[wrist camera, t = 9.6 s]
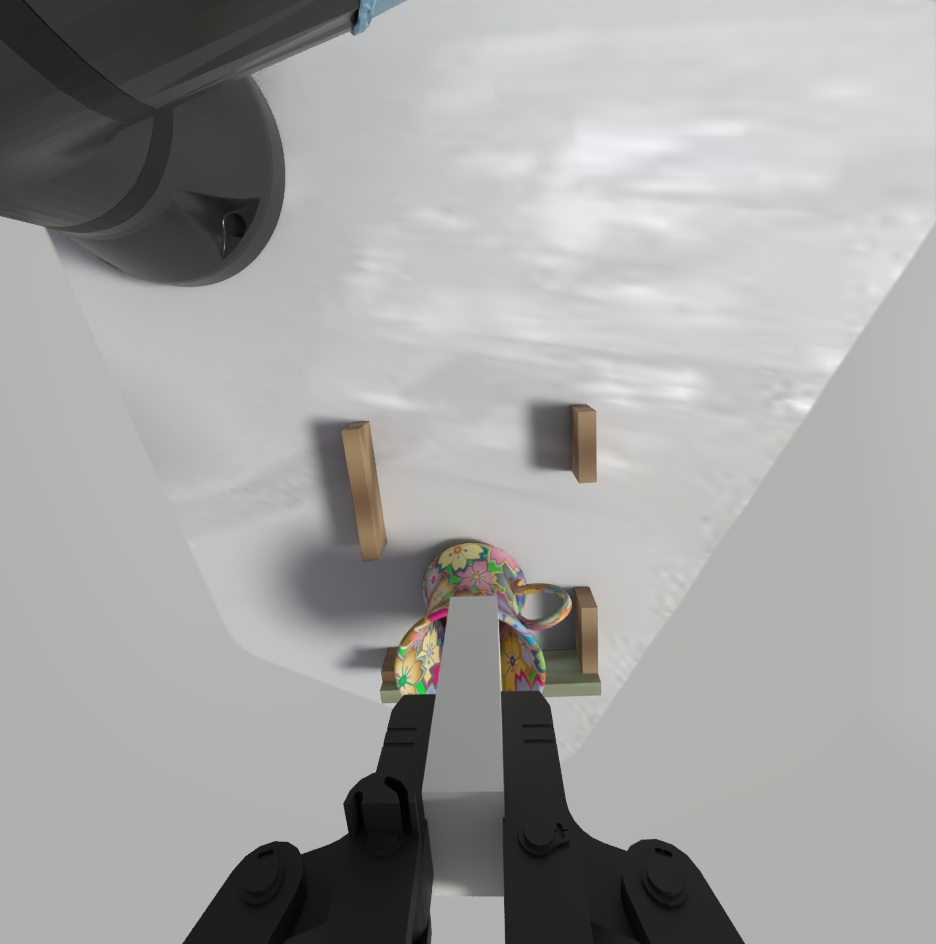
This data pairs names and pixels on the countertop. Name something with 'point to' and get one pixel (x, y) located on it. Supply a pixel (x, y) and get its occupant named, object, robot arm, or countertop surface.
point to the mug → (500, 576)
